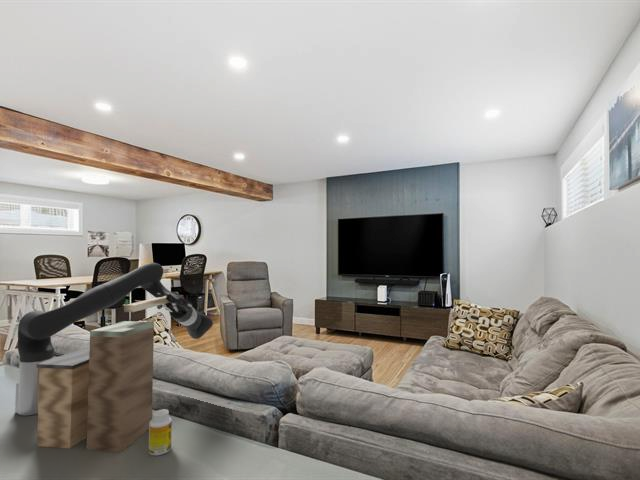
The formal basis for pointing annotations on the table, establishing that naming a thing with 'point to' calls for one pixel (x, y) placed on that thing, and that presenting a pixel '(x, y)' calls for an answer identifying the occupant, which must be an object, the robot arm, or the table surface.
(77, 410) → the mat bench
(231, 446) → the table surface
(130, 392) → the walnut stand
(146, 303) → the slat
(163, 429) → the supplement bottle
